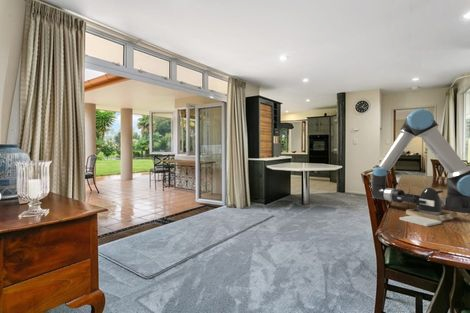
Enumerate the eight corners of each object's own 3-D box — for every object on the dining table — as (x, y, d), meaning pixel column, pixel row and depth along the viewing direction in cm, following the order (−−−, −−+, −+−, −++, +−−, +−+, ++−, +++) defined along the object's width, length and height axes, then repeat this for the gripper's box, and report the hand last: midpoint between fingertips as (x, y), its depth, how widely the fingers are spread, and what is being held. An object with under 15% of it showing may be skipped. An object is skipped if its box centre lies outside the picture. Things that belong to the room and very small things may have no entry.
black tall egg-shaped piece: (439, 220, 122) (441, 189, 121) (414, 215, 129) (415, 187, 129) (443, 216, 128) (444, 187, 128) (419, 212, 136) (420, 185, 136)
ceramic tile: (413, 217, 127) (413, 215, 127) (441, 223, 116) (441, 221, 116) (399, 219, 122) (399, 217, 122) (426, 226, 111) (426, 224, 111)
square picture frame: (421, 211, 139) (421, 207, 138) (453, 218, 125) (453, 213, 125) (405, 214, 132) (406, 209, 132) (437, 221, 119) (437, 216, 119)
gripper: (405, 200, 150) (450, 208, 129) (382, 203, 140) (426, 212, 120) (406, 188, 150) (451, 194, 129) (382, 190, 140) (427, 197, 120)
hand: (439, 202), depth 125 cm, fingers closed on black tall egg-shaped piece, 9 cm apart
